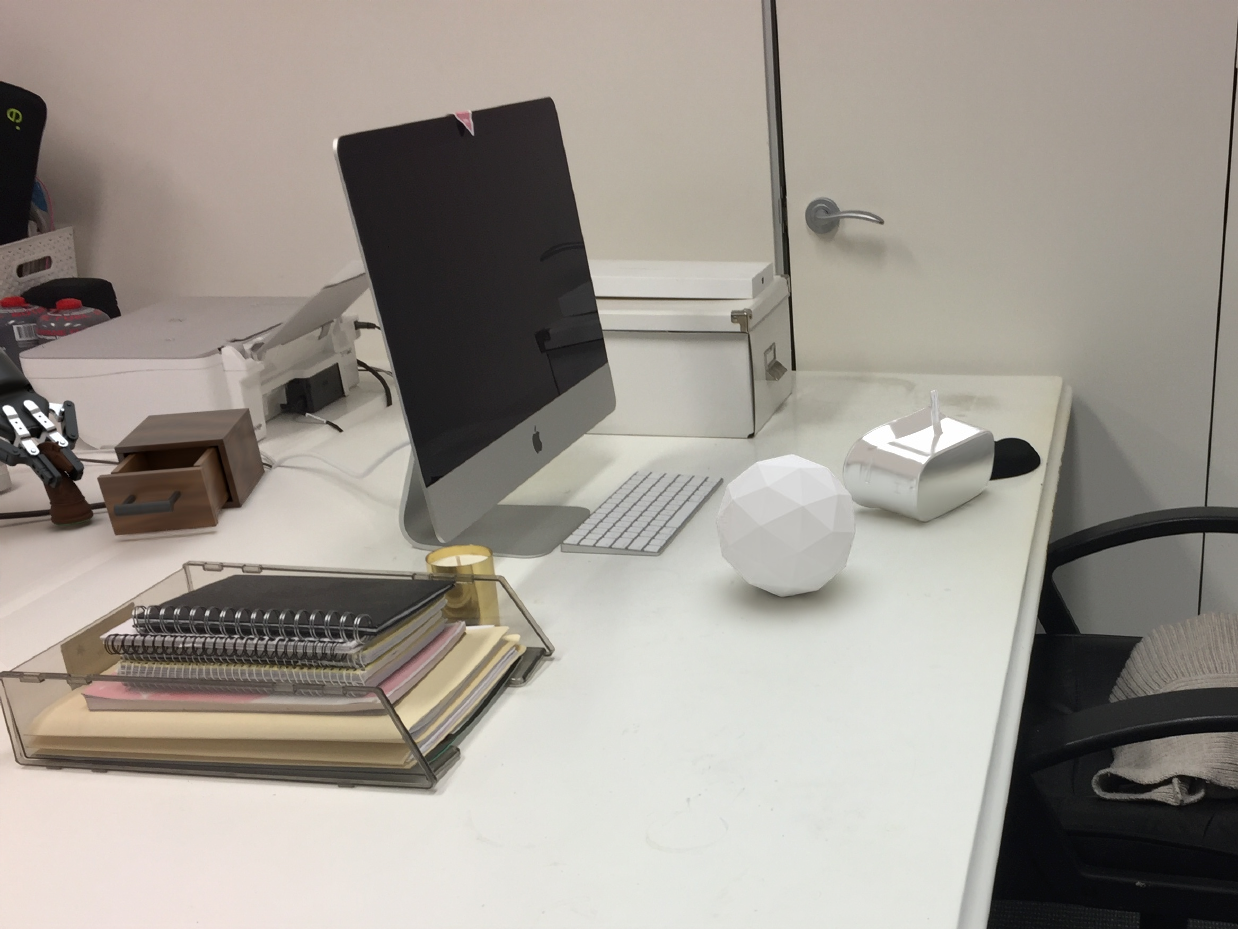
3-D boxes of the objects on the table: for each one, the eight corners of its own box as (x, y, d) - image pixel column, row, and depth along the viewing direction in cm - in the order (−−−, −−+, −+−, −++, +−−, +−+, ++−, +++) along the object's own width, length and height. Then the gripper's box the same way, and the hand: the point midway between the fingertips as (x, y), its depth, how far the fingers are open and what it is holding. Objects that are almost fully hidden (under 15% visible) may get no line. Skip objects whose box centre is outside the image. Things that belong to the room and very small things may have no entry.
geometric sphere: (821, 619, 138) (899, 510, 134) (772, 629, 124) (858, 507, 120) (725, 541, 140) (799, 432, 137) (666, 543, 126) (748, 421, 122)
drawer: (205, 542, 147) (188, 483, 143) (100, 552, 145) (81, 492, 141) (241, 490, 163) (227, 436, 160) (147, 498, 161) (131, 444, 158)
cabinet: (241, 507, 160) (222, 438, 156) (135, 516, 158) (114, 447, 154) (265, 471, 173) (248, 407, 169) (167, 480, 171) (148, 415, 166)
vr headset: (927, 473, 166) (927, 365, 159) (1000, 489, 159) (1003, 378, 153) (842, 512, 153) (838, 397, 147) (917, 532, 147) (916, 412, 140)
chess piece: (74, 526, 153) (49, 448, 149) (39, 523, 154) (14, 445, 150) (102, 514, 157) (79, 437, 153) (69, 511, 158) (45, 435, 154)
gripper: (-79, 364, 144) (18, 479, 145) (39, 339, 155) (129, 446, 155) (-88, 403, 149) (6, 515, 149) (27, 377, 160) (115, 481, 160)
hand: (68, 479), depth 152 cm, fingers closed on chess piece
